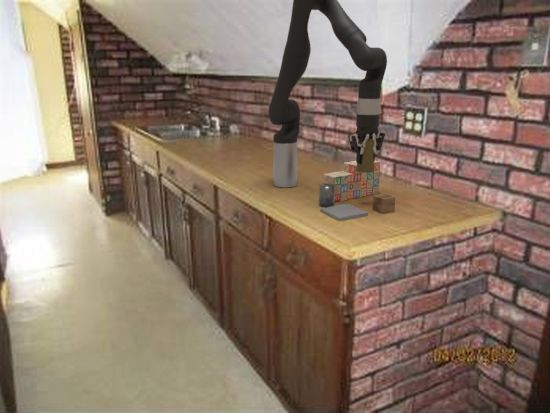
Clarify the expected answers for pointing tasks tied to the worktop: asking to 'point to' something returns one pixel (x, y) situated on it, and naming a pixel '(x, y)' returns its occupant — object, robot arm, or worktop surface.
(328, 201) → the metal tin
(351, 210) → the slate tile
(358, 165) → the brown rounded figure
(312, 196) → the worktop surface
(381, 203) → the walnut block
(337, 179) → the stack of blocks
